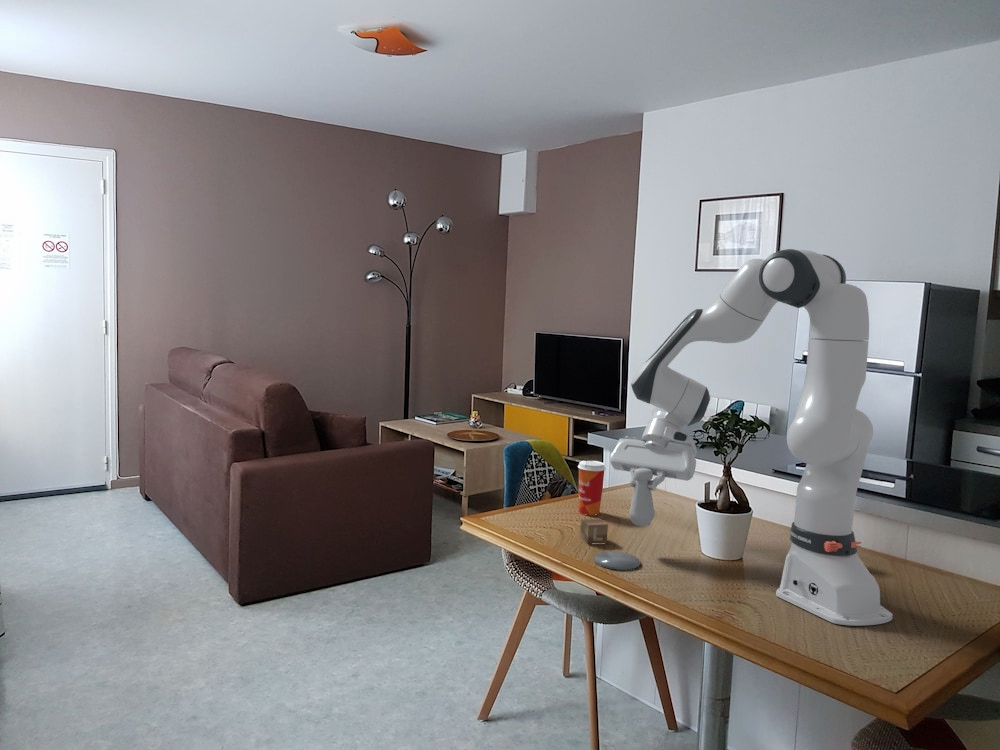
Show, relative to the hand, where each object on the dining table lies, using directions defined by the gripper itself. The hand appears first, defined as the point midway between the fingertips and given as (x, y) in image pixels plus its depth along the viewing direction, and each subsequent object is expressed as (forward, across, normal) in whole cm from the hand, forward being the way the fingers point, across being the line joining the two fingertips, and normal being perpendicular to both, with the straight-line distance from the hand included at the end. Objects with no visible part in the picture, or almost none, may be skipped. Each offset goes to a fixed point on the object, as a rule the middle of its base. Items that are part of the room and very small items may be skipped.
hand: (642, 487), depth 177 cm
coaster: (+18, -1, +5) cm, 18 cm away
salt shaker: (+6, 0, +7) cm, 9 cm away
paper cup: (-5, -25, +26) cm, 36 cm away
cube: (+10, -12, +12) cm, 20 cm away
